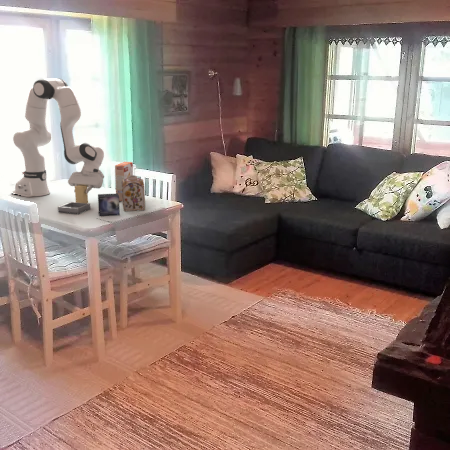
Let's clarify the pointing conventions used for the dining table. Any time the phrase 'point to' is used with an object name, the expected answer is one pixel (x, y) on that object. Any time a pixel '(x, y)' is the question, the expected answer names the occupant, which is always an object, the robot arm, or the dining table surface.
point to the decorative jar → (133, 194)
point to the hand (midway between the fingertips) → (80, 192)
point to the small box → (108, 204)
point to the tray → (74, 208)
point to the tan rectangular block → (81, 194)
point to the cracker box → (122, 175)
